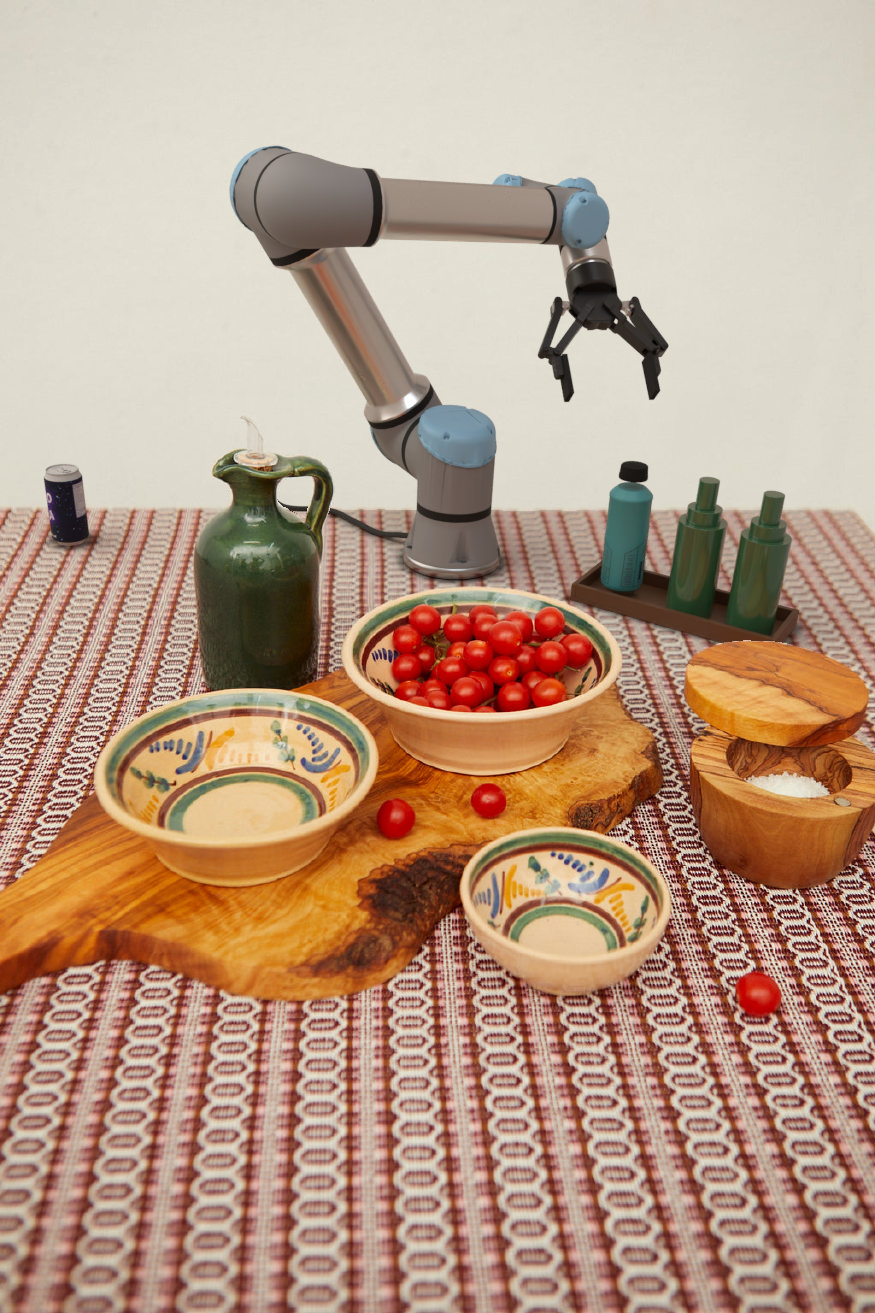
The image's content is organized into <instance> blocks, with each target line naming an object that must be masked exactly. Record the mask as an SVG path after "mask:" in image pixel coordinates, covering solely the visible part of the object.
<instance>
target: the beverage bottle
mask: <svg viewBox="0 0 875 1313" xmlns="http://www.w3.org/2000/svg"><path fill="white" fill-rule="evenodd" d="M618 479H620V480H621V481H624V482H620V483H618V484H617V485H615V486H613V488H612V489H610V491H609V495H608V496H609V499H608V507H607V517H606V525H605V531H604V536H603V540H604V541H603V543H602V544H603V550H602V551H601V554H602V558H601V560H600V561H601V563H602V569H600V571H601V578H600V579H601V582H602V584H603V585H604V586H606V587H608V588H610V589H613V590H617V591H633V590H636V589H638V588H640V586H641V584H642V583H643V582H642V580H643V581H644V579H643V577H644V575H643V572H645V570H646V564H647V557H646V556H647V554H648V552H647V550H648V547H649V541H650V540H649V534H650V528H651V525H650V523H651V513H652V506H653V500H654V494H653V493H652V491H651V490H650V488H648V487H647V486H646V485H645V484H642V483H646V482H647V481H648V480H649V465H648V464H647V463H645V462H642V461H638V460H626V461H623V462H622V463H621V464H620V468H619V472H618Z"/></svg>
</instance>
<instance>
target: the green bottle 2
mask: <svg viewBox="0 0 875 1313" xmlns="http://www.w3.org/2000/svg"><path fill="white" fill-rule="evenodd" d="M761 500H762V501H761V504H760V510H759V515H756V516H753V517H751V518H750V523H749V526H748V527H746V528H743V529H742V530H741V531H740V536H739V541H738V546H737V552H736V556H735V562H734V567H733V574H732V578H731V584H730V589H729V592H730V594H729V600H728V605H727V611H726V616H725V622H724V624H727V625H731V626H734V627H738V628H742V629H745V630H749V631H752V632H756V633H760V634H763V635H767V636H770V635H771V634H772V633H773V630H774V625H775V620H776V615H777V610H778V605H780V600H781V595H782V590H783V585H784V580H785V576H786V572H787V567H788V561H789V557H790V552H791V547H792V542H793V538H792V536H791V535H790V534H789V533H788V532H787V530H788V523H787V522H786V521H785V520H784V519H782V515H783V509H784V505H785V500H786V494H785V493H784V492H782V491H777V490H766V491H764V492H763V496H762V499H761Z"/></svg>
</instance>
